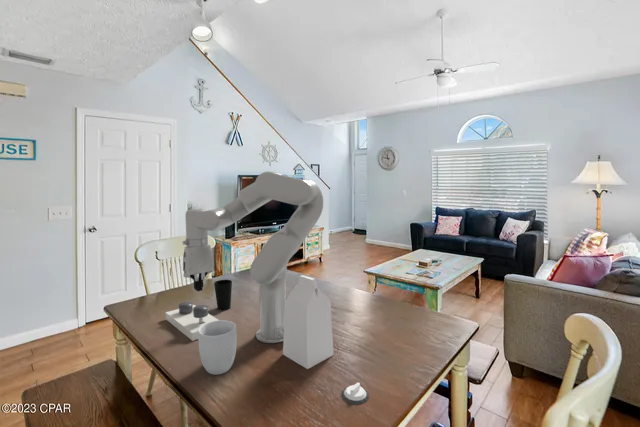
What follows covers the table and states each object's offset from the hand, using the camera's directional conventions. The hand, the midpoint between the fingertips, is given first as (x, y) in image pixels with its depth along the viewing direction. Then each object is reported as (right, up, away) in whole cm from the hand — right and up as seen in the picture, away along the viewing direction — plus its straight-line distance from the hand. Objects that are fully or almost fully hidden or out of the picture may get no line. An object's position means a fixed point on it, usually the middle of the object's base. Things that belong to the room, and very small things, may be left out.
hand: (198, 290), depth 124 cm
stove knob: (+55, -20, -37) cm, 69 cm away
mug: (+15, -18, -23) cm, 33 cm away
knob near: (+1, -13, +1) cm, 13 cm away
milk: (+42, -18, -16) cm, 48 cm away
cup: (+3, -14, +23) cm, 27 cm away
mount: (-4, -15, +7) cm, 17 cm away
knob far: (-9, -14, +11) cm, 21 cm away
